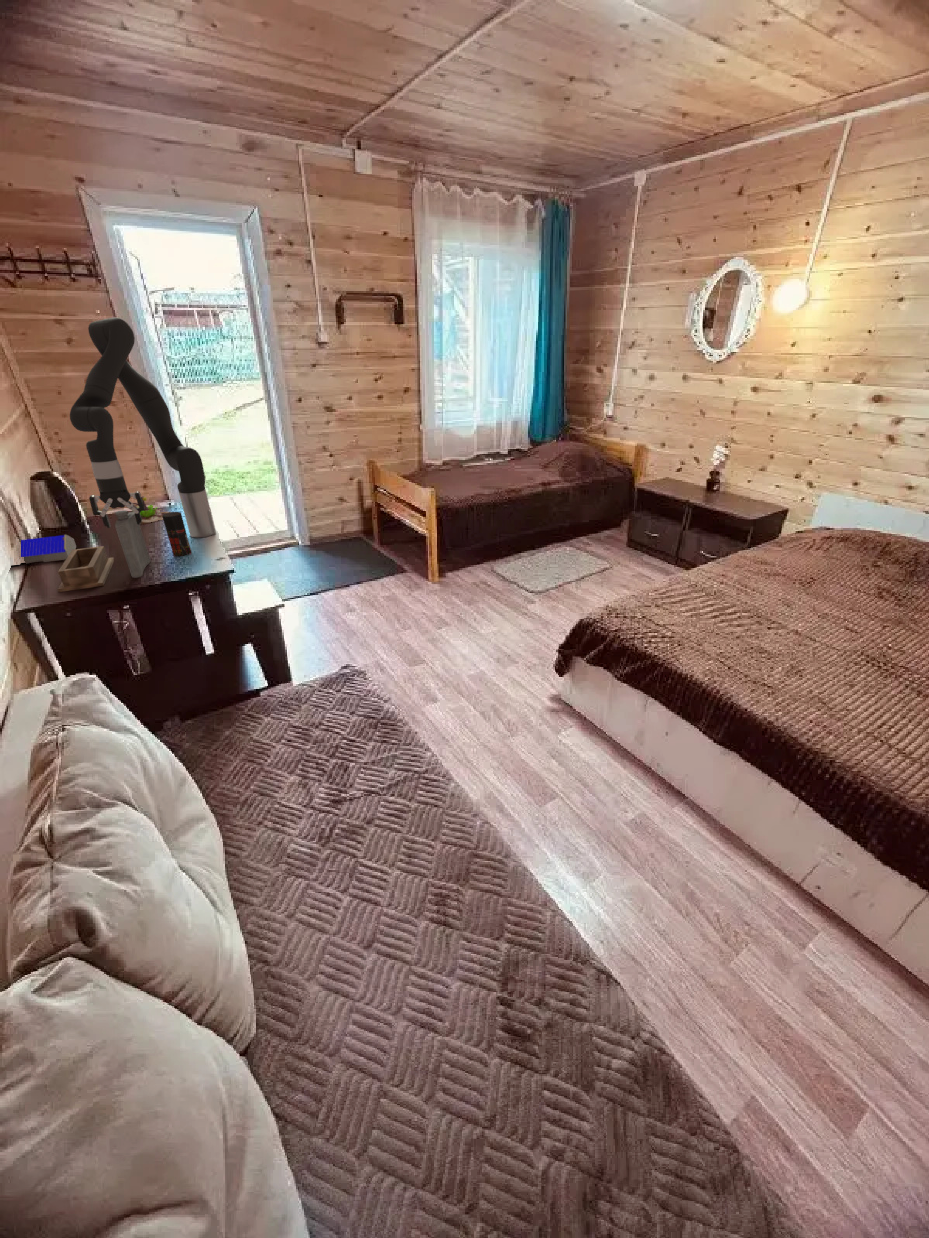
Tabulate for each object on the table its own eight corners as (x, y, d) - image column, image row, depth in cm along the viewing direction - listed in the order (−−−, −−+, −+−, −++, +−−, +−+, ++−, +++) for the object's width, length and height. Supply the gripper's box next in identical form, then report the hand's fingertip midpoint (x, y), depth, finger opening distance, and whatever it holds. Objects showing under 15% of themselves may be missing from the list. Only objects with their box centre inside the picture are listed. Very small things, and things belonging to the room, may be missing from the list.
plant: (133, 532, 213) (125, 505, 208) (114, 523, 224) (105, 497, 218) (182, 520, 227) (175, 494, 221) (161, 512, 238) (154, 487, 232)
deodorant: (172, 553, 190) (161, 513, 183) (190, 550, 193) (180, 510, 186) (174, 558, 185) (162, 517, 178) (192, 555, 188) (181, 515, 181)
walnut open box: (114, 560, 184) (108, 543, 182) (103, 585, 165) (97, 568, 162) (74, 565, 180) (68, 548, 177) (58, 592, 161) (51, 574, 158)
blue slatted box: (77, 547, 196) (70, 528, 193) (68, 560, 185) (61, 540, 182) (6, 555, 189) (-3, 536, 186) (-8, 569, 178) (-17, 549, 174)
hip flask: (141, 577, 171) (122, 517, 162) (127, 578, 170) (107, 519, 161) (151, 560, 184) (134, 504, 175) (139, 561, 183) (121, 505, 174)
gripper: (136, 471, 168) (150, 520, 175) (84, 474, 163) (100, 525, 170) (133, 475, 162) (147, 526, 169) (79, 479, 157) (96, 531, 164)
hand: (124, 525), depth 170 cm, fingers open, 8 cm apart
